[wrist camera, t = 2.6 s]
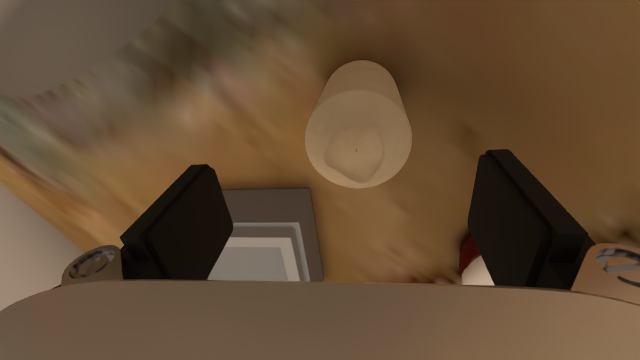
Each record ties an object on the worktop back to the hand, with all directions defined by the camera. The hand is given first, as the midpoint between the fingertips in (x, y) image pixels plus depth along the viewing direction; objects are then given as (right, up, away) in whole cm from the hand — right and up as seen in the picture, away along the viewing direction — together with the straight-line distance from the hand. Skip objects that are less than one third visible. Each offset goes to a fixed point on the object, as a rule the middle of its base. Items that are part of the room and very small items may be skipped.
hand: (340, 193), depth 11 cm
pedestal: (-7, -6, +21) cm, 23 cm away
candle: (+2, +7, +12) cm, 14 cm away
